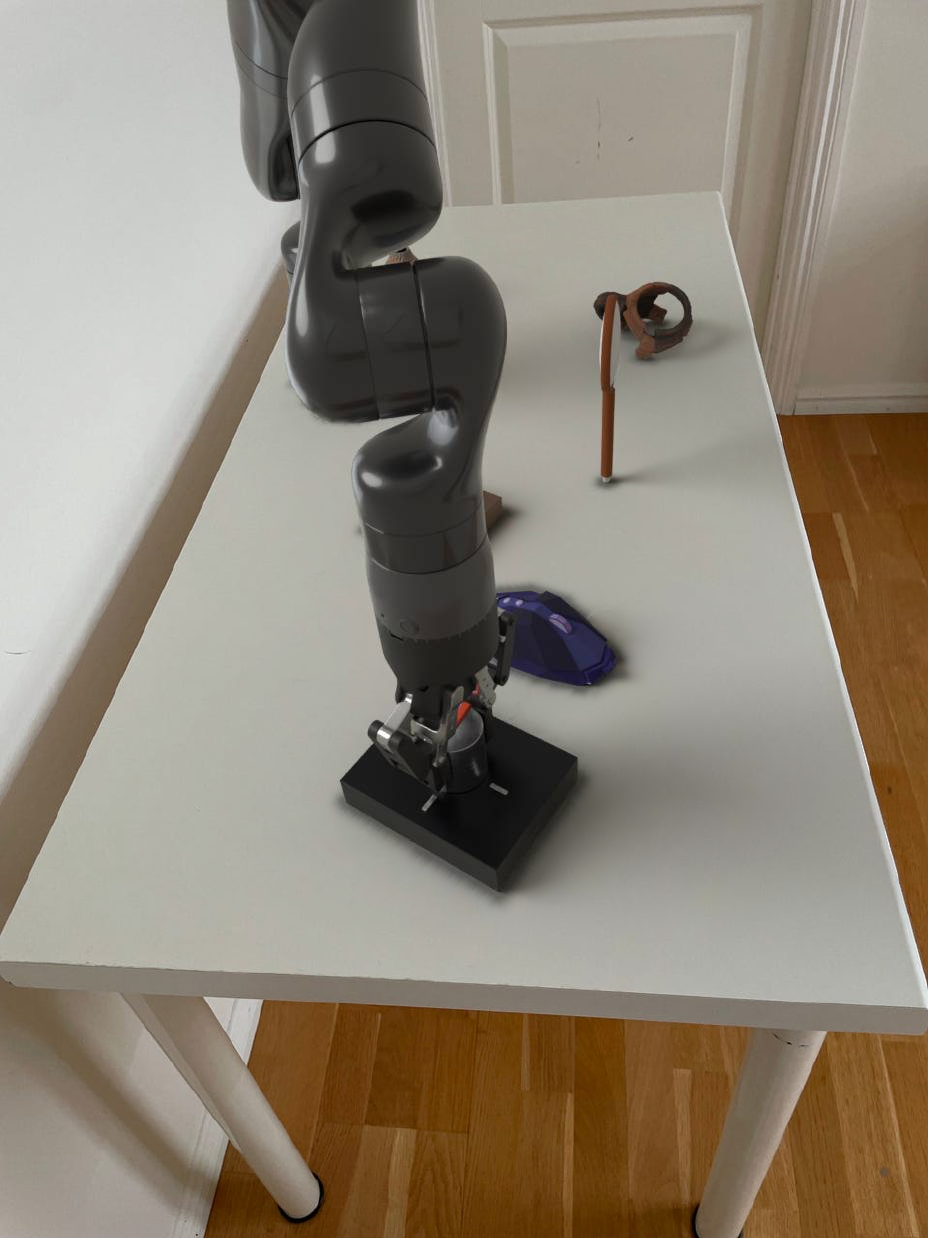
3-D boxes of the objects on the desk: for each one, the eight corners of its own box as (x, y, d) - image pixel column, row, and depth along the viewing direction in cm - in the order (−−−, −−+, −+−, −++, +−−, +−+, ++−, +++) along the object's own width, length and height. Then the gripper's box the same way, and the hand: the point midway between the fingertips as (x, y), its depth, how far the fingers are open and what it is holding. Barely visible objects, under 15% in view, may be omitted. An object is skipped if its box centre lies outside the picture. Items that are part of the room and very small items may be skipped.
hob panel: (346, 803, 72) (338, 779, 70) (430, 706, 78) (426, 682, 76) (498, 892, 66) (496, 869, 63) (578, 780, 71) (578, 755, 69)
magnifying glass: (610, 508, 94) (616, 323, 80) (592, 507, 94) (595, 323, 80) (618, 457, 100) (625, 277, 85) (602, 456, 100) (606, 276, 86)
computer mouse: (509, 574, 88) (507, 542, 85) (646, 641, 81) (648, 608, 78) (446, 633, 84) (441, 601, 81) (584, 709, 76) (585, 677, 73)
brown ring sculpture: (685, 322, 119) (705, 282, 111) (670, 386, 117) (690, 351, 109) (594, 297, 119) (607, 256, 111) (577, 361, 117) (589, 324, 109)
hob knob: (468, 802, 67) (462, 758, 64) (417, 778, 69) (408, 734, 65) (498, 757, 70) (494, 713, 66) (448, 736, 72) (441, 691, 68)
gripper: (452, 506, 62) (472, 677, 74) (308, 642, 54) (357, 807, 66) (549, 543, 59) (553, 716, 71) (410, 693, 51) (442, 858, 63)
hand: (458, 759), depth 68 cm, fingers closed on hob knob, 4 cm apart
